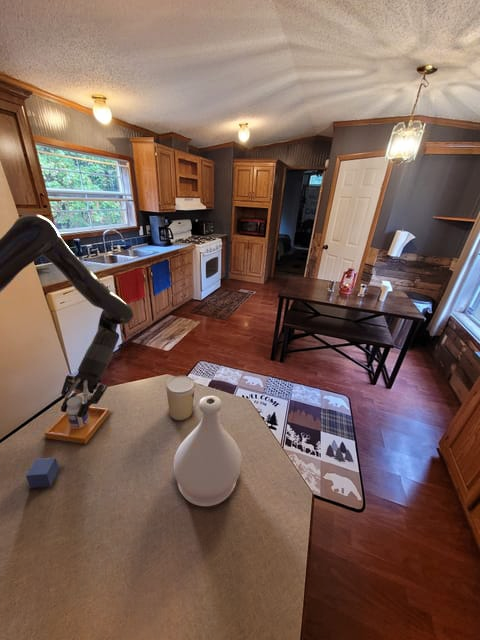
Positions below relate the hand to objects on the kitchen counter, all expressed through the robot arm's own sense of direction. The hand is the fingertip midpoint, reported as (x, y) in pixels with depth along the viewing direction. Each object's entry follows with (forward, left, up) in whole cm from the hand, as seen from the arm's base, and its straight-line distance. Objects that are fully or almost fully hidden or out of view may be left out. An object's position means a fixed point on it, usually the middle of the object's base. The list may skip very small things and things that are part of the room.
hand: (72, 414), depth 75 cm
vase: (+43, -8, -6) cm, 45 cm away
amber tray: (0, +2, -6) cm, 6 cm away
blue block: (+3, -15, -6) cm, 17 cm away
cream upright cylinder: (+29, +13, -6) cm, 32 cm away
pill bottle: (0, +2, -5) cm, 6 cm away
